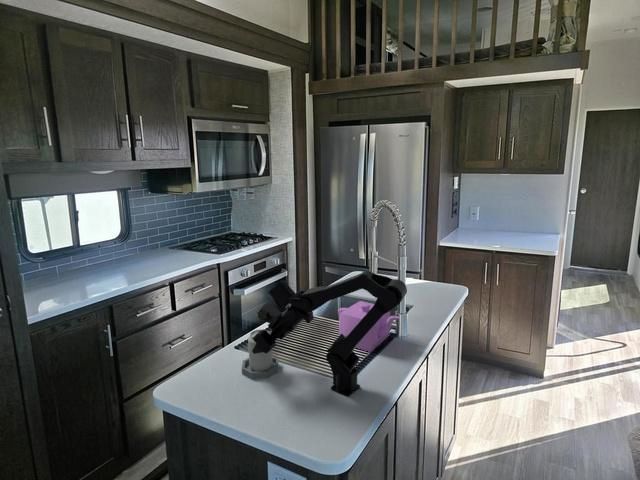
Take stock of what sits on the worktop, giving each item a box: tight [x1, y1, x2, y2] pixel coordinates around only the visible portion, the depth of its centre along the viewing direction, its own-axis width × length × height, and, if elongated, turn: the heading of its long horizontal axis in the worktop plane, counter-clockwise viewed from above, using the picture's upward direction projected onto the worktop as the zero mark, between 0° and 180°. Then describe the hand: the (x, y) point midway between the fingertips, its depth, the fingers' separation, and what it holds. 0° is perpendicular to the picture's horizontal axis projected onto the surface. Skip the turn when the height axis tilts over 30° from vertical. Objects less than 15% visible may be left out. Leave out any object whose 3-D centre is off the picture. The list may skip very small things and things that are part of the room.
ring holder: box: [241, 355, 280, 380], centre depth 137 cm, size 12×12×2 cm
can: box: [247, 329, 273, 372], centre depth 135 cm, size 8×8×12 cm
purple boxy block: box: [337, 300, 401, 353], centre depth 154 cm, size 15×25×14 cm, turn 56°
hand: (260, 346), depth 135 cm, fingers open, 9 cm apart
